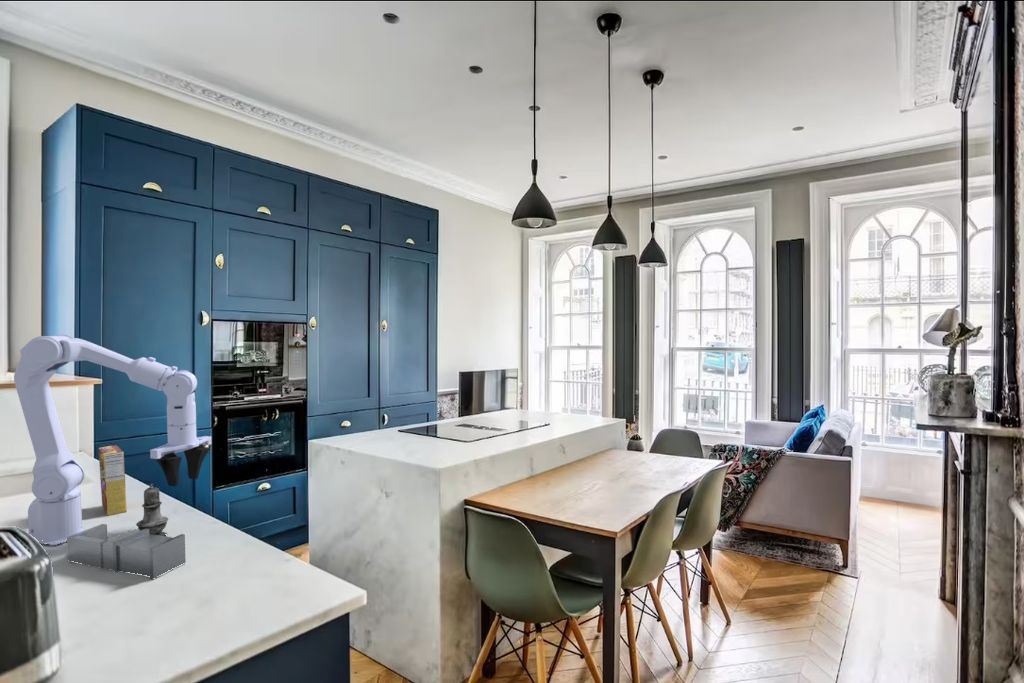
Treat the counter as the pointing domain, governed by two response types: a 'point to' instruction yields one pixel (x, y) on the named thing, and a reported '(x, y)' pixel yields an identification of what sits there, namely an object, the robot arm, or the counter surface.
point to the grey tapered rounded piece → (152, 513)
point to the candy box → (112, 479)
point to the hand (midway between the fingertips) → (183, 482)
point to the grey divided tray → (127, 551)
